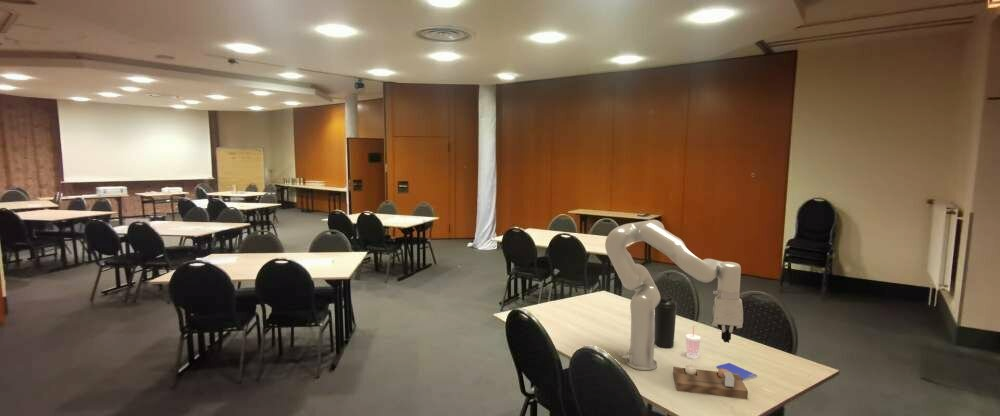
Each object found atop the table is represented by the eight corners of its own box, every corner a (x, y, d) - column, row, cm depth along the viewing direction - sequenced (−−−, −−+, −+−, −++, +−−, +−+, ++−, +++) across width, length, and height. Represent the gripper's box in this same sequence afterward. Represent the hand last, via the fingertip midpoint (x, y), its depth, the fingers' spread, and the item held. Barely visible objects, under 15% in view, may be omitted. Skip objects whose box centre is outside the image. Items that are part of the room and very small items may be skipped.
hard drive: (757, 374, 184) (730, 362, 195) (743, 378, 180) (716, 365, 191) (756, 378, 184) (729, 366, 195) (742, 382, 180) (716, 369, 191)
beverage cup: (702, 358, 201) (704, 327, 200) (691, 360, 199) (693, 328, 198) (692, 352, 207) (694, 322, 205) (681, 354, 205) (683, 324, 203)
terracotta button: (719, 380, 177) (719, 372, 176) (716, 375, 181) (717, 368, 180) (730, 381, 176) (730, 374, 175) (728, 376, 180) (728, 369, 179)
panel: (677, 390, 173) (677, 382, 172) (673, 373, 186) (673, 366, 186) (747, 399, 167) (748, 391, 166) (738, 381, 180) (738, 373, 180)
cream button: (685, 376, 180) (686, 369, 179) (684, 371, 184) (684, 364, 183) (696, 377, 179) (697, 370, 178) (695, 373, 183) (695, 365, 182)
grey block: (724, 386, 169) (725, 377, 169) (722, 379, 174) (722, 371, 174) (733, 387, 168) (734, 378, 168) (730, 380, 173) (731, 372, 173)
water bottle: (679, 344, 216) (681, 296, 213) (670, 351, 208) (672, 301, 206) (658, 338, 222) (659, 292, 220) (648, 345, 215) (650, 297, 213)
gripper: (708, 296, 173) (706, 343, 175) (752, 299, 169) (750, 347, 171) (705, 290, 180) (703, 335, 182) (747, 293, 176) (744, 339, 178)
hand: (725, 341), depth 176 cm, fingers closed
